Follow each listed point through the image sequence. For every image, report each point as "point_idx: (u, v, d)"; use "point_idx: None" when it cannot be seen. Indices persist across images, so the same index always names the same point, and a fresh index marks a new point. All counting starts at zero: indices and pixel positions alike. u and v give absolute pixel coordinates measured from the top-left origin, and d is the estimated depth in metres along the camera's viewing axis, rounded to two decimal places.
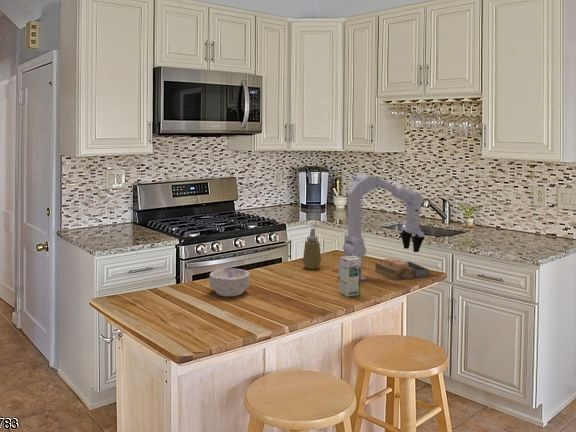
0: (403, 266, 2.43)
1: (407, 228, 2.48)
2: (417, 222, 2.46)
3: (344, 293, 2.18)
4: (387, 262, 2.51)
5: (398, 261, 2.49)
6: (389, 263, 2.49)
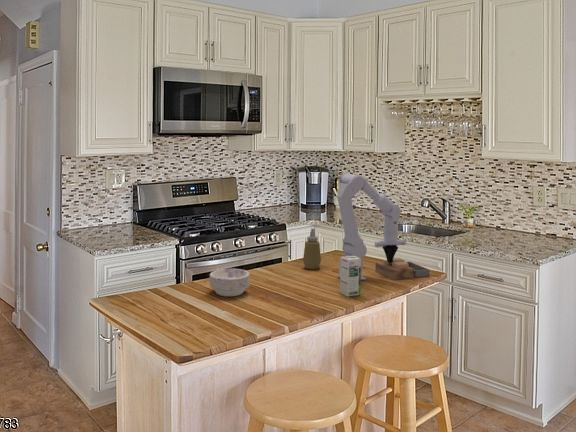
0: (403, 266, 2.43)
1: None
2: (386, 234, 2.47)
3: (344, 293, 2.18)
4: None
5: None
6: None
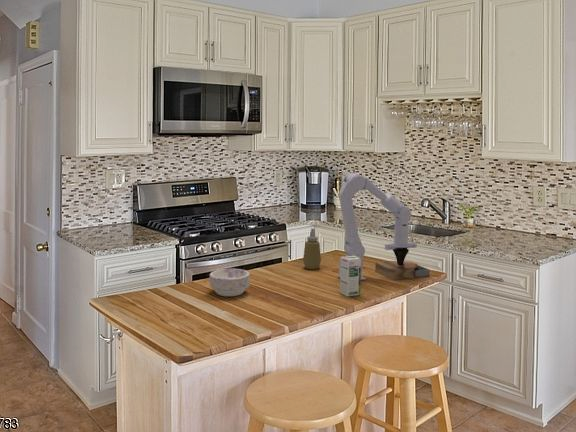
0: (410, 265, 2.44)
1: None
2: (396, 236, 2.42)
3: (344, 293, 2.18)
4: None
5: None
6: None
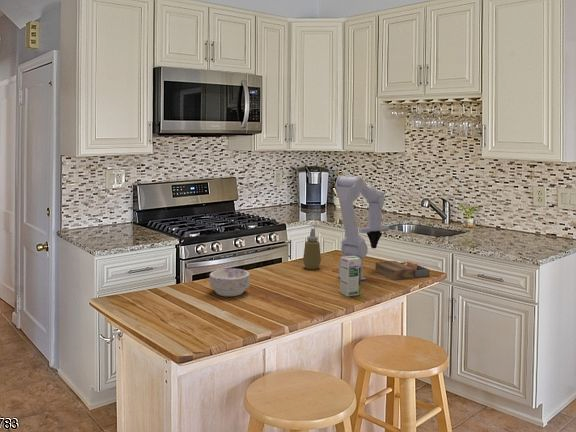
0: (414, 269, 2.46)
1: None
2: (370, 220, 2.51)
3: (344, 293, 2.18)
4: None
5: None
6: None
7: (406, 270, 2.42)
